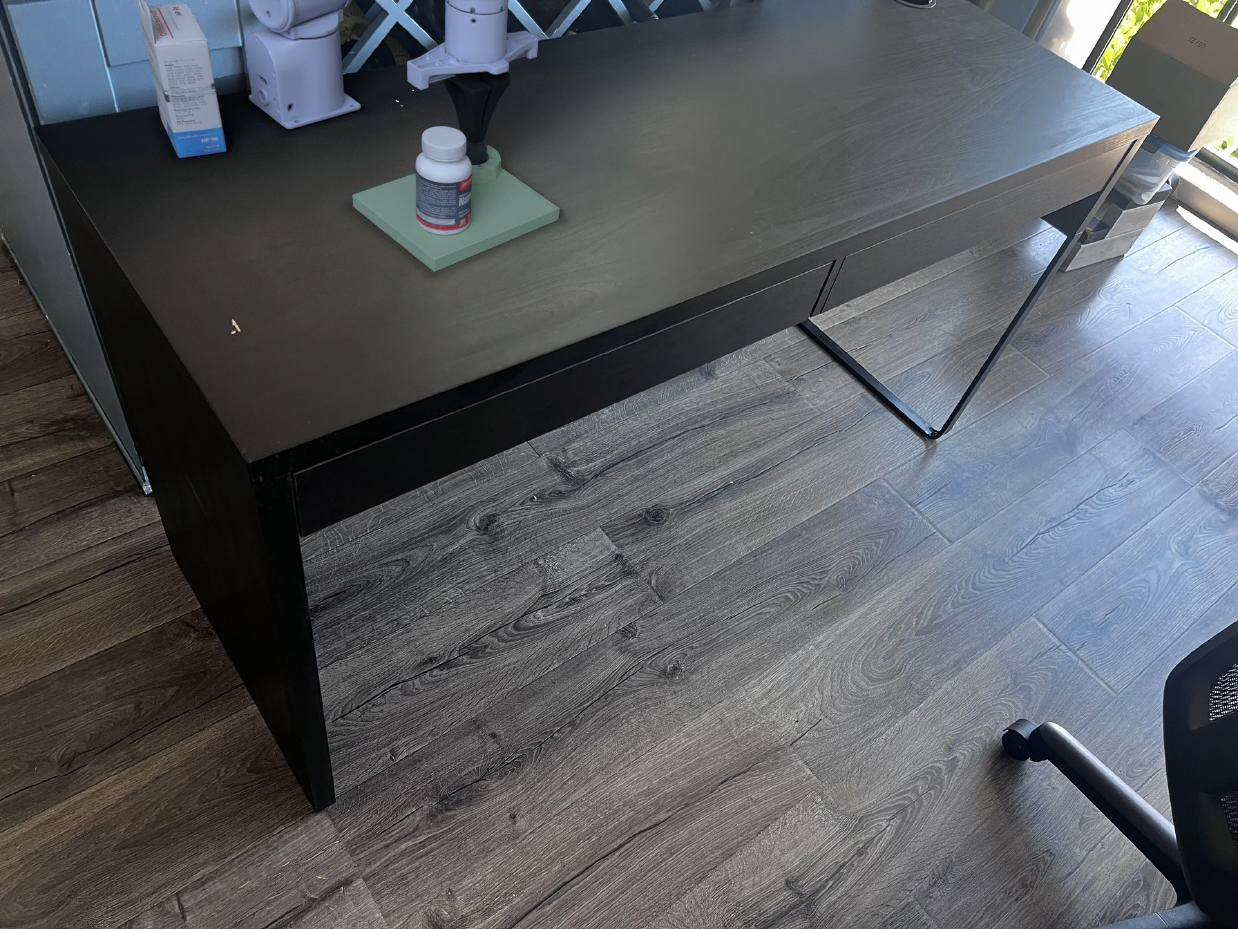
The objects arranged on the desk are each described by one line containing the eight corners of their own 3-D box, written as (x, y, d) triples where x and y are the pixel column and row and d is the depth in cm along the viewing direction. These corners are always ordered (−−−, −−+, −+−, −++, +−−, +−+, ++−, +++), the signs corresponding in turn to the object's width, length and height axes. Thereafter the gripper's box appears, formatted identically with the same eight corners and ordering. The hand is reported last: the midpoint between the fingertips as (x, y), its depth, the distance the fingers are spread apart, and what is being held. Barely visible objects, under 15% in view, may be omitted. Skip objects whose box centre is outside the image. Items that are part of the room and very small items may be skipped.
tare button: (469, 169, 97) (470, 155, 95) (451, 156, 98) (451, 142, 97) (492, 161, 98) (492, 147, 97) (473, 148, 99) (474, 134, 98)
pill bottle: (466, 240, 90) (469, 155, 84) (411, 232, 90) (410, 147, 83) (473, 210, 94) (476, 126, 87) (420, 202, 93) (419, 119, 87)
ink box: (229, 153, 97) (204, 6, 86) (178, 159, 95) (145, 10, 84) (209, 113, 102) (182, -31, 91) (159, 118, 99) (126, -28, 89)
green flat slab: (434, 272, 88) (434, 245, 86) (350, 204, 94) (348, 177, 92) (558, 220, 97) (561, 194, 95) (475, 161, 103) (476, 135, 101)
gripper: (441, 34, 81) (440, 176, 91) (563, 4, 89) (551, 137, 99) (391, 3, 84) (396, 143, 93) (514, -24, 92) (507, 108, 102)
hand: (472, 138), depth 96 cm, fingers closed
